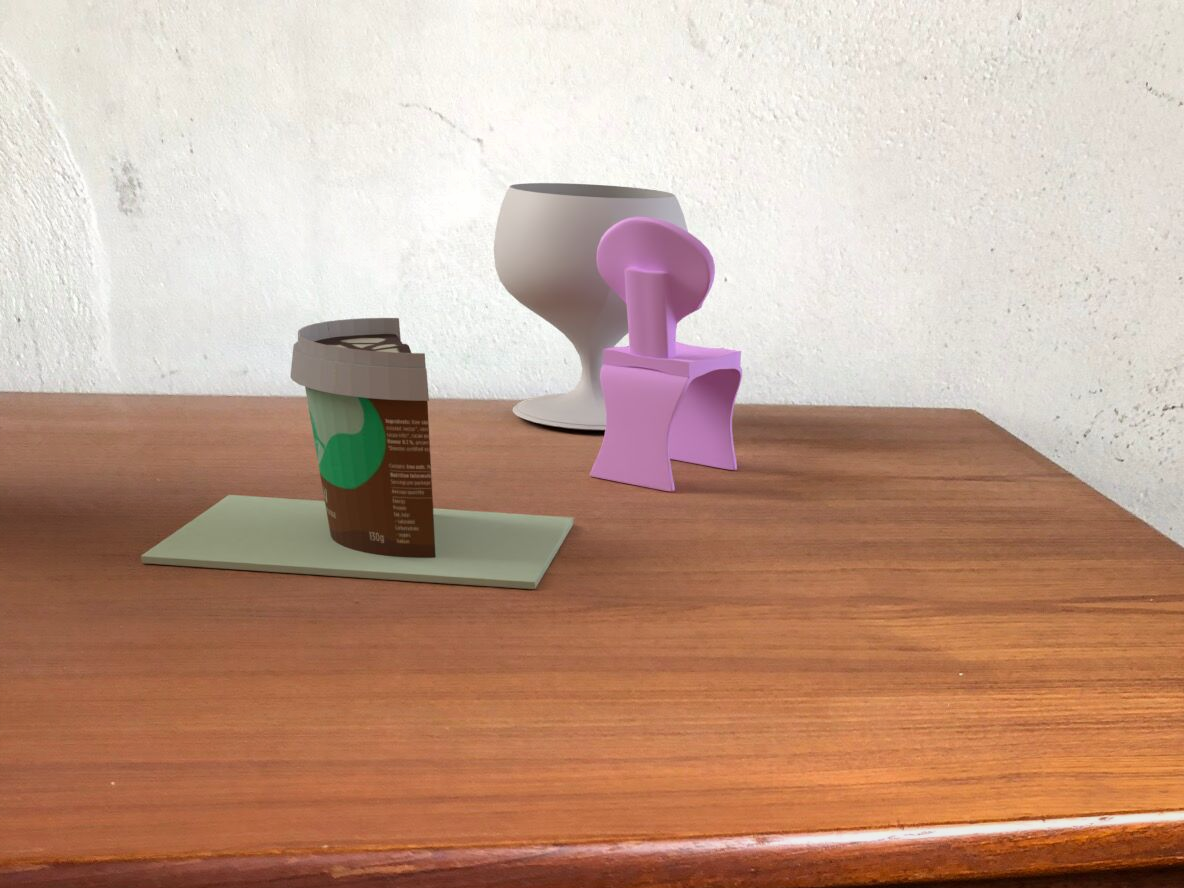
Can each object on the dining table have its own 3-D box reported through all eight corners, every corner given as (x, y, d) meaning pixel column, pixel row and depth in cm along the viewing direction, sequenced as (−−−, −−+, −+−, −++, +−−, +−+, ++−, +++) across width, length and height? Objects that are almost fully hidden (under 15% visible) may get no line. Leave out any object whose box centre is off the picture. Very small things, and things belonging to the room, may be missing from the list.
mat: (141, 563, 76) (140, 555, 76) (229, 501, 87) (228, 494, 87) (535, 589, 76) (535, 581, 76) (573, 524, 87) (573, 517, 87)
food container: (301, 507, 85) (279, 314, 80) (411, 505, 87) (397, 316, 82) (315, 569, 75) (292, 354, 70) (439, 565, 77) (426, 355, 72)
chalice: (703, 439, 109) (710, 203, 101) (508, 437, 106) (499, 194, 97) (670, 401, 120) (673, 186, 112) (492, 398, 117) (483, 178, 109)
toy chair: (754, 471, 101) (766, 218, 93) (685, 494, 94) (692, 225, 86) (649, 451, 104) (652, 206, 96) (576, 473, 97) (573, 211, 89)
